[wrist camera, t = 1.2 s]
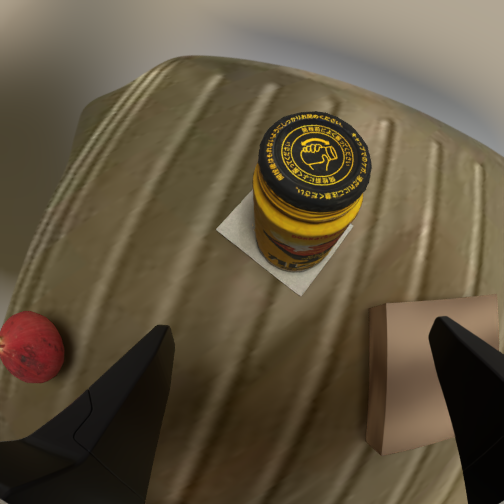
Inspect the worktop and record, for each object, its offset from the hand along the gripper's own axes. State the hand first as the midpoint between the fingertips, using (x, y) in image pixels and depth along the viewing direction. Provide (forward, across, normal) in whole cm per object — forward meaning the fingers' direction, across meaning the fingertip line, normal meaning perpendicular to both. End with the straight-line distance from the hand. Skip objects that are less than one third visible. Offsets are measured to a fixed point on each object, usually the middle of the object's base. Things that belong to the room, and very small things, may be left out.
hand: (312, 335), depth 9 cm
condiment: (+16, -1, +4) cm, 16 cm away
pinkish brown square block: (+7, -12, +12) cm, 19 cm away
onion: (+8, +20, +11) cm, 24 cm away
